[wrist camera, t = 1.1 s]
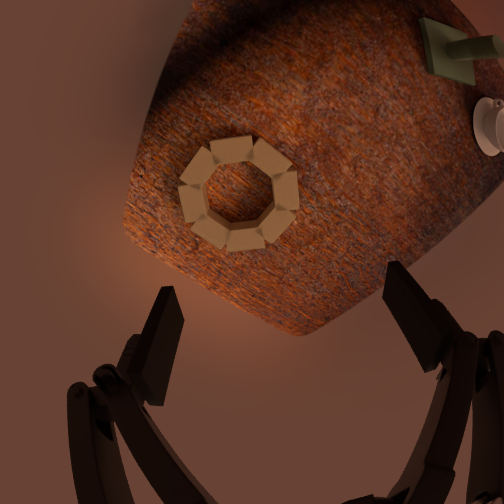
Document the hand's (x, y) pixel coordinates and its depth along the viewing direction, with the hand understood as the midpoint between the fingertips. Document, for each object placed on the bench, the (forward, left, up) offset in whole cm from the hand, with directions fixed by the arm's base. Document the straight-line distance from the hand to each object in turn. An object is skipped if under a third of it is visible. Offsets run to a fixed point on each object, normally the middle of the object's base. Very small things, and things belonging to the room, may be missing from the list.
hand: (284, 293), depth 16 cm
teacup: (-11, +38, -20) cm, 44 cm away
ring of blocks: (-1, -3, -20) cm, 20 cm away
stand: (-21, +29, -20) cm, 41 cm away
